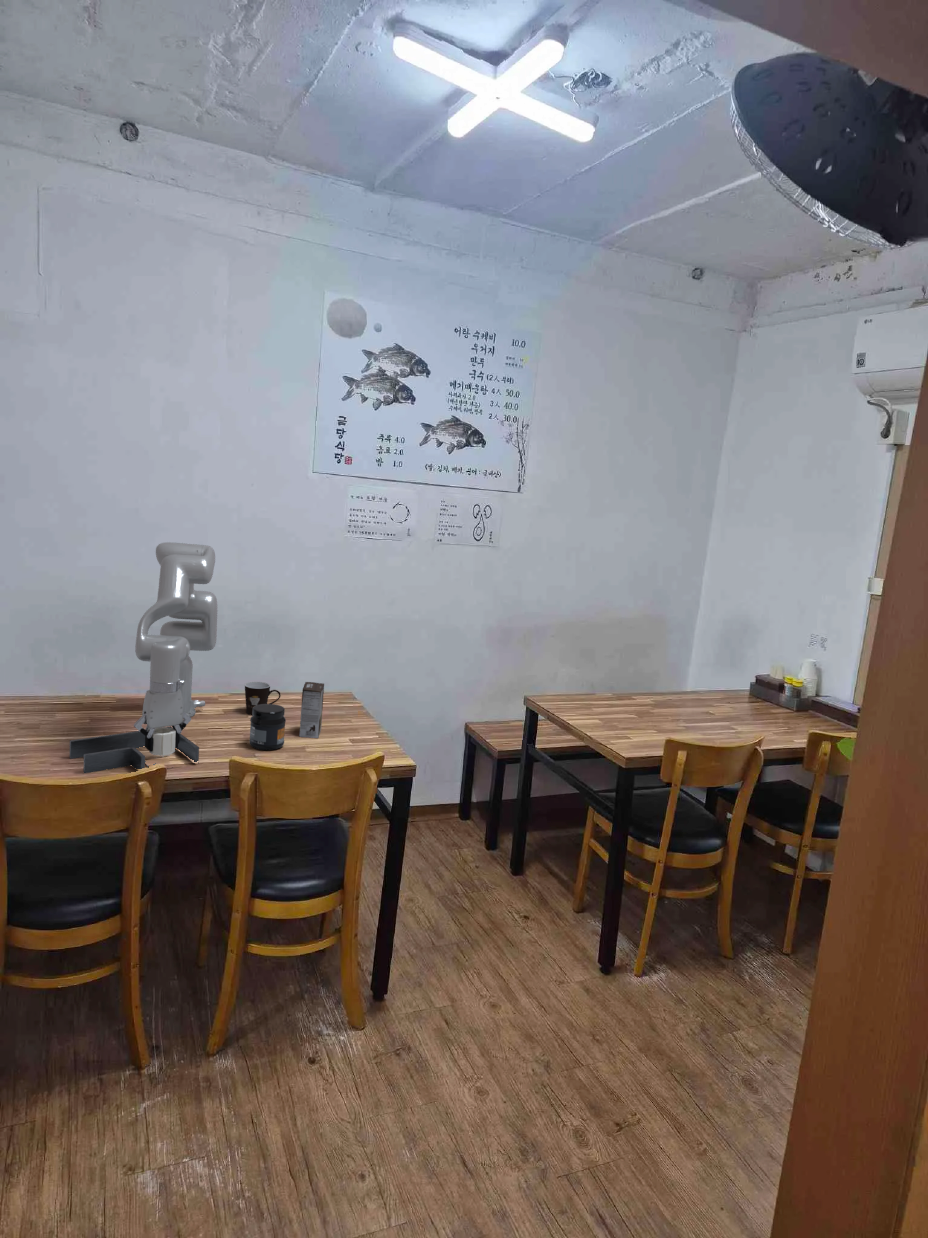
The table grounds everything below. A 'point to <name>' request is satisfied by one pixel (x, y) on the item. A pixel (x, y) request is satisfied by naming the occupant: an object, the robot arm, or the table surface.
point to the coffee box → (311, 709)
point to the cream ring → (163, 741)
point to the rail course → (120, 751)
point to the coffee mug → (257, 695)
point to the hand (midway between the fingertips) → (162, 747)
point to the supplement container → (267, 727)
